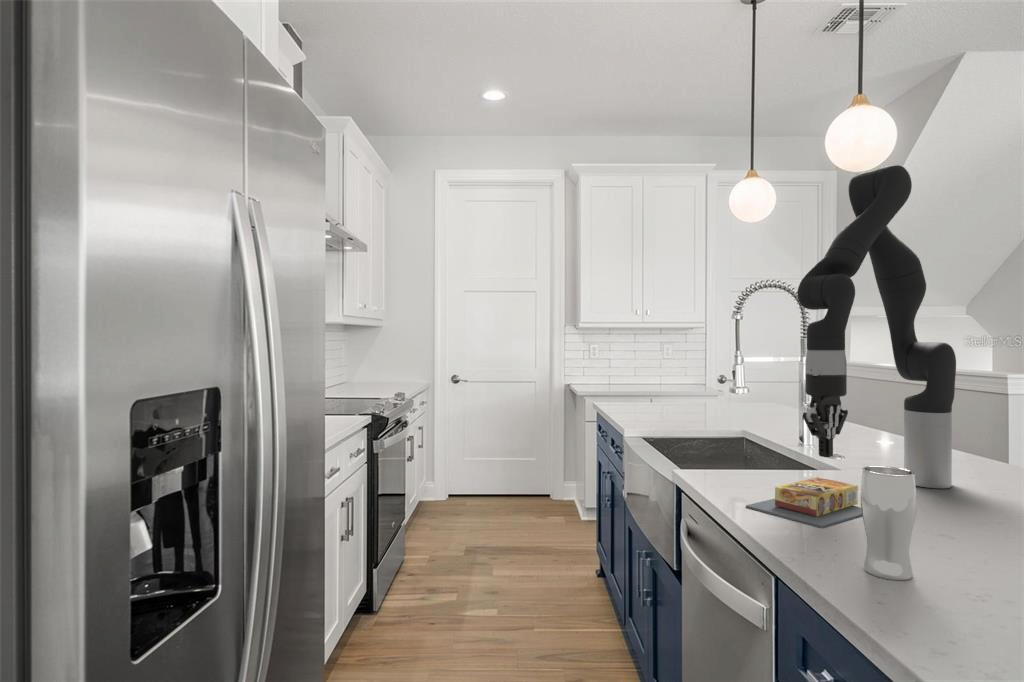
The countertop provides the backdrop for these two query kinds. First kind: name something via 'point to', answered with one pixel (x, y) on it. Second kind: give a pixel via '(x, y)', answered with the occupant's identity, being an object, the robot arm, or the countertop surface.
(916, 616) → the countertop surface
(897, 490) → the beer glass
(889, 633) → the countertop surface
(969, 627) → the countertop surface
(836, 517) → the slate mat
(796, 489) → the candy box
